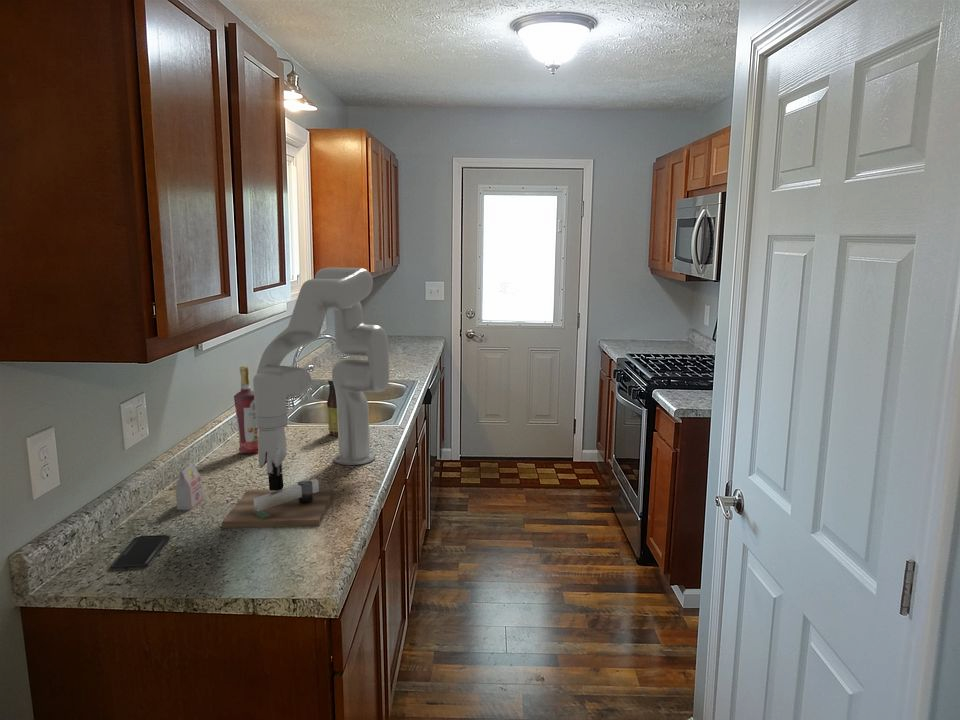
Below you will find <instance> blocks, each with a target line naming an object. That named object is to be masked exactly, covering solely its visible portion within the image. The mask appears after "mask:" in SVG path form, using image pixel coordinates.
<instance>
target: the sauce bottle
mask: <svg viewBox="0 0 960 720" xmlns="http://www.w3.org/2000/svg"><path fill="white" fill-rule="evenodd" d="M328 388H329V389H328V390H329V393H328V397H327V401H326V409H327V423H328V424H327V425H328V431H329V434H330V435H331V436H335V437H338V419H337V400H336V392H335V387H334V384H333V379H332V378H329V379H328Z"/></svg>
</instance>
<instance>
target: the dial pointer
mask: <svg viewBox="0 0 960 720" xmlns="http://www.w3.org/2000/svg"><path fill="white" fill-rule="evenodd" d="M319 485H320V484H319V480H318V479H316V478H313V479H311V480H302V481H299V482H298V483H297V484H295V485H291V486H287V487H283V488H282V489H281V490H278V491H275V492H272V493H269V494H266V495H262V496H259V497H256V498H253V499H254V510H255V511H257V512H259V511H262V510H265V509H268V508H271V507H274V506H277V505H280V504H283V503H286V502H289V501H292V500H295V499H298V498H299V502H300V503H309V502H311V501H313V493H315V492H318V491H319V488H320V486H319Z"/></svg>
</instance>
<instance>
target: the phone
mask: <svg viewBox="0 0 960 720" xmlns="http://www.w3.org/2000/svg"><path fill="white" fill-rule="evenodd" d="M170 540H171V537H170V535H169V534H159V535H158V534H157V535H156V534H155V535H139V536H136V537H134V538H133V539H132V540H131V541H130V542H129V544H128V545H127V546H126V547H125V548H124V549H123V550H122V551H121V552H120V553H119V554H118V556H117V557H116V558H115V559H114V560H113V561H112V563H110V564H109V567H110V570H111V571H126V570H142V569H147V568H149V567H150V566H151V565H152V563H153V562H154V561H155V559H156V558H157V557H156V556H158V555H159V554H160V553H161V551H162V550H163V549H164V548H165V546H166V545H167V544H168V543H169V541H170ZM167 542H168V543H167ZM163 547H164V548H163Z"/></svg>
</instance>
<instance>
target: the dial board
mask: <svg viewBox="0 0 960 720" xmlns="http://www.w3.org/2000/svg"><path fill="white" fill-rule="evenodd" d="M246 490H247V491H245V492H244V494H243V495H242V497H241V498H240V499H239V500H238V501H237V503H236V504H235V505H234V506H233V508H232V509H231V510H230V511H229V512H228V513H227V515H226V516H225V517H224V519H223V520H222V521H221V526H222V527H221V528H223V529H224V528H226V529H227V528H228V529H229V528H230V529H231V528H232V529H233V528H268V527H269V528H273V527H277V528H279V527H311V526H316V527H317V526H320V525H321V523H322V521H323V518H324V516H325V514H326V512H327V510H328V508H329V505H330V503H331V501H332V499H333V497H334V496H335V495H334V494H335V487H319V491H318V492H315V493H313V501H311V502H309V503H300V502H299V498H298V499H295V500H292V501H289V502H286V503H283V504H280V505H277V506H274V507H271V508H268V509H265V510H262V511H259V512H257V511H255V510H254V499H253V498H256V497H259V496H262V495H266V494H269V493H272V492H275V491H270V490H269V488H263V489H260V488H259V489H246ZM277 491H278V490H277Z"/></svg>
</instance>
